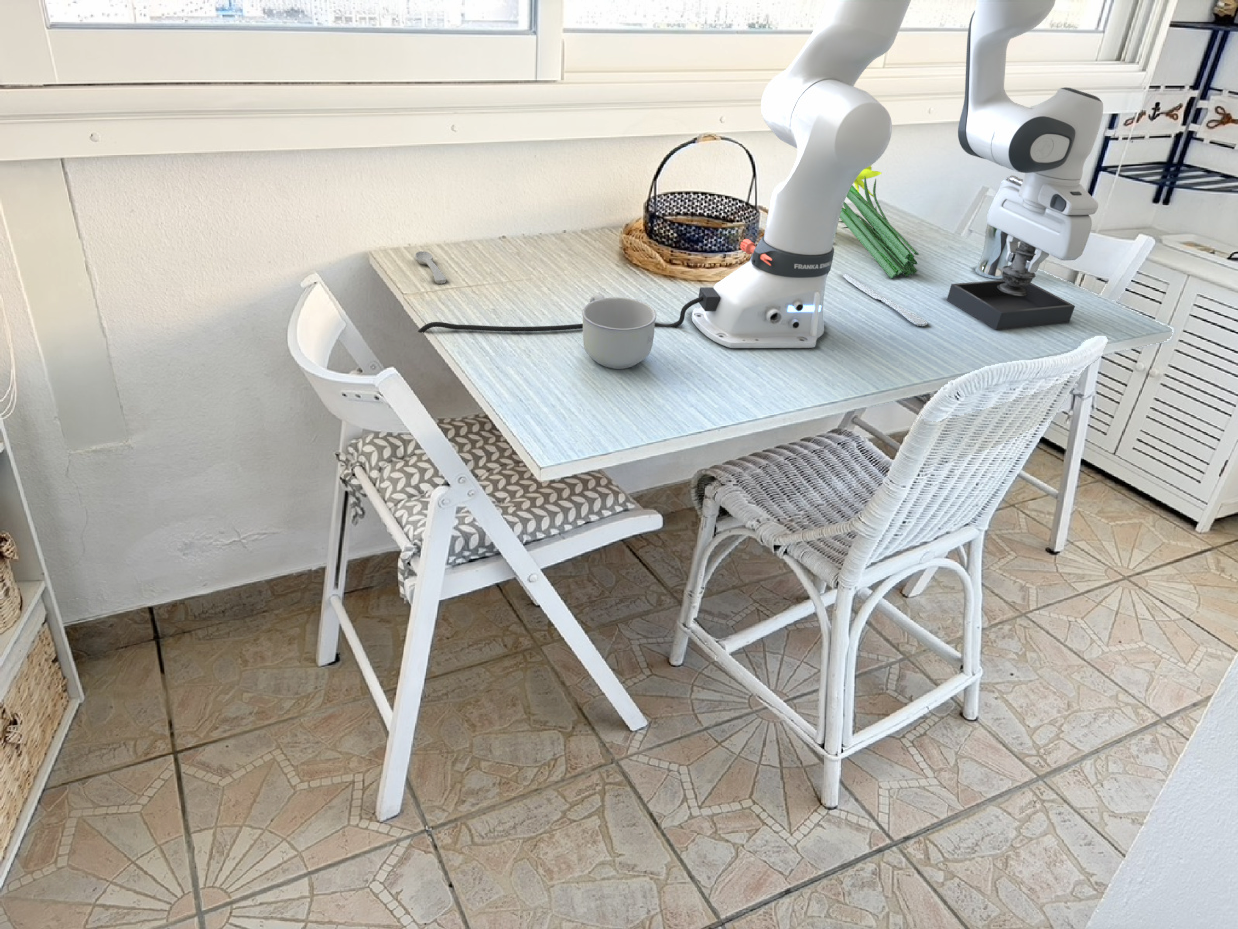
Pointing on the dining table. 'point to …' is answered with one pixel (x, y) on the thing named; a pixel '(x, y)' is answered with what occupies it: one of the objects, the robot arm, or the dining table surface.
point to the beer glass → (993, 254)
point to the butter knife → (887, 302)
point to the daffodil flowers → (877, 230)
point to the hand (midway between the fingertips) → (1020, 266)
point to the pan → (1009, 305)
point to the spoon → (428, 259)
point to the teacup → (618, 331)
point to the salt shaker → (1018, 271)
